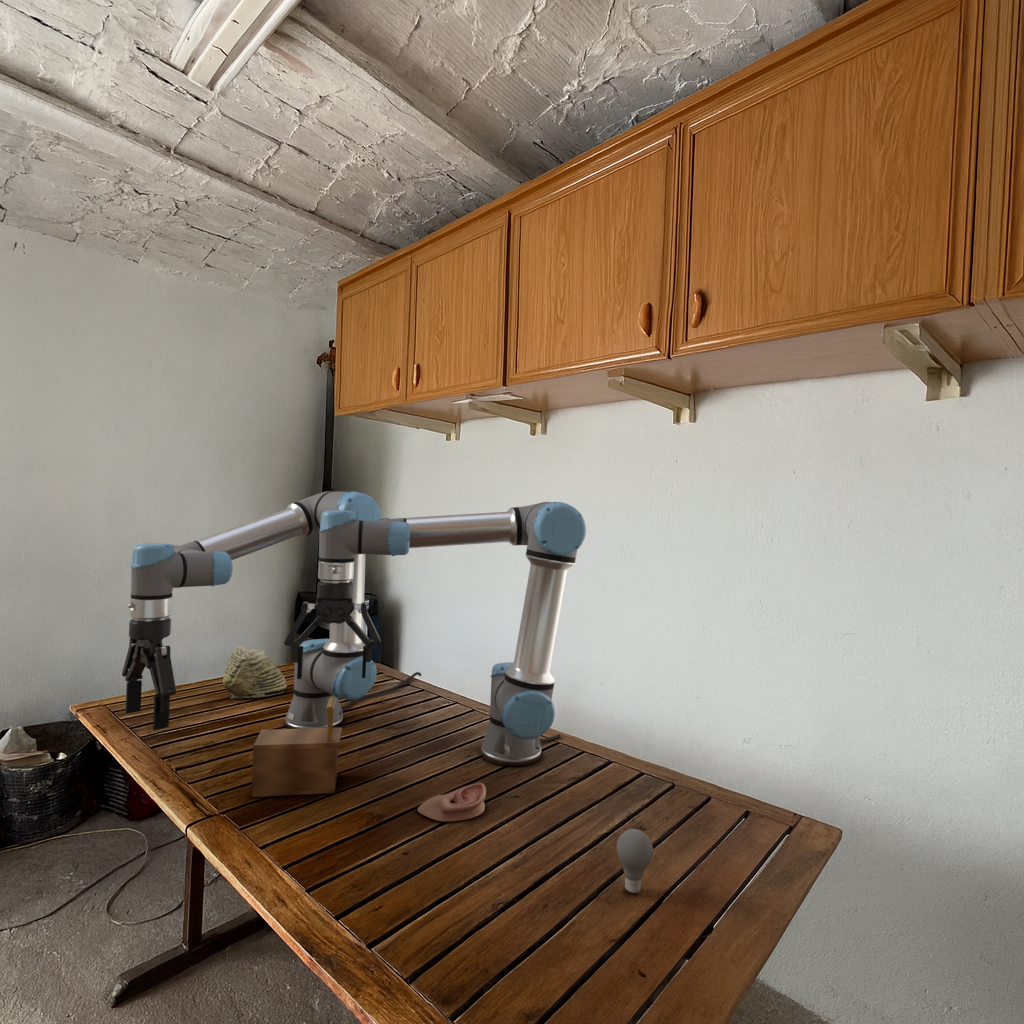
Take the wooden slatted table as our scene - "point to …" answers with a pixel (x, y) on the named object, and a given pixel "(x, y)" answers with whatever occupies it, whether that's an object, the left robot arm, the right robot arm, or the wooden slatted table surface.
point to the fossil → (252, 674)
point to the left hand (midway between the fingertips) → (146, 720)
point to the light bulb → (634, 857)
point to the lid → (301, 736)
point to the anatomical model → (456, 804)
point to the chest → (294, 772)
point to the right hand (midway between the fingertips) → (332, 677)
